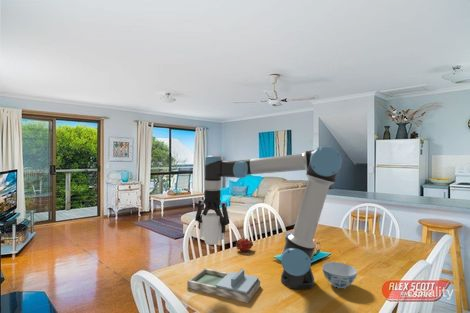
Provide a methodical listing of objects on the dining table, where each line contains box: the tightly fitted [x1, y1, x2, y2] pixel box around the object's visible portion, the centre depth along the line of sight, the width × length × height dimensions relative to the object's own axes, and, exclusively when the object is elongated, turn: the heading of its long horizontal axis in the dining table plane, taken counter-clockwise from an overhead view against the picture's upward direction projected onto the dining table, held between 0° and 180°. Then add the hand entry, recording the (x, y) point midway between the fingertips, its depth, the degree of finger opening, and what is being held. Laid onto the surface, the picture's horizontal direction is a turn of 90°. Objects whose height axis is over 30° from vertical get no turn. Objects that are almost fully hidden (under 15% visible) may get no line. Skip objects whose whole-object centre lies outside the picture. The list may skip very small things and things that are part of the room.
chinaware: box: [321, 261, 358, 289], centre depth 125 cm, size 15×15×8 cm
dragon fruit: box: [235, 237, 254, 253], centre depth 168 cm, size 8×8×12 cm
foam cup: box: [201, 211, 223, 246], centre depth 125 cm, size 10×9×13 cm
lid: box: [216, 268, 260, 294], centre depth 119 cm, size 14×15×4 cm
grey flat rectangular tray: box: [186, 268, 261, 304], centre depth 122 cm, size 29×15×3 cm, turn 66°
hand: (211, 238), depth 125 cm, fingers closed on foam cup, 9 cm apart
